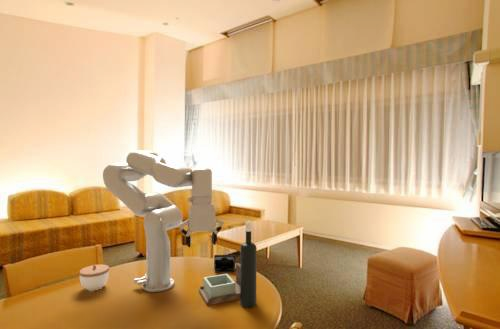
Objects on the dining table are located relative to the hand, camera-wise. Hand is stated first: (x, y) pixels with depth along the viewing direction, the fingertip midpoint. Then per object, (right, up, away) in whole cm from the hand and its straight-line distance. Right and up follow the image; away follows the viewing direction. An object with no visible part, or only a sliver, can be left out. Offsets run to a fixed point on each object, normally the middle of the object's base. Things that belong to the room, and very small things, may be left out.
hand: (201, 244), depth 112 cm
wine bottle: (+18, -20, -6) cm, 28 cm away
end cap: (+7, -20, +27) cm, 34 cm away
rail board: (+9, -20, +2) cm, 21 cm away
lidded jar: (-45, -20, +7) cm, 49 cm away
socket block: (+7, -18, +1) cm, 20 cm away
